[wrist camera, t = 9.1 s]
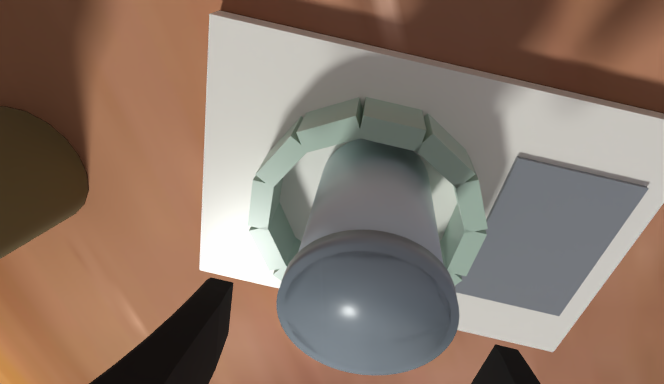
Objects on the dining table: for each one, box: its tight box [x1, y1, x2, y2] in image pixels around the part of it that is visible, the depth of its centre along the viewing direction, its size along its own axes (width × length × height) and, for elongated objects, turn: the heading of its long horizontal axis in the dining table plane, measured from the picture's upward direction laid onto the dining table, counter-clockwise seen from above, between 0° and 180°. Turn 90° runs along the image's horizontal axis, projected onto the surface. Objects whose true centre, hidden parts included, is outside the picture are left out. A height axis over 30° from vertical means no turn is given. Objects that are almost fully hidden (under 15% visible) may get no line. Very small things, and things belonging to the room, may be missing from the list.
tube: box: [277, 139, 459, 375], centre depth 14 cm, size 5×5×7 cm
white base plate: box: [200, 10, 664, 352], centre depth 17 cm, size 18×12×3 cm, turn 79°
